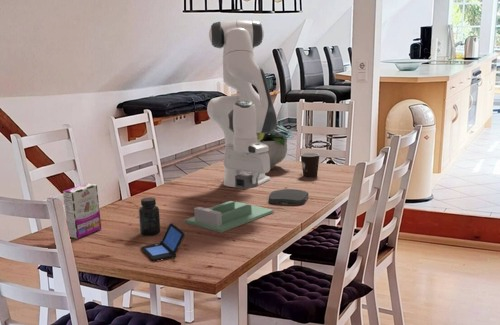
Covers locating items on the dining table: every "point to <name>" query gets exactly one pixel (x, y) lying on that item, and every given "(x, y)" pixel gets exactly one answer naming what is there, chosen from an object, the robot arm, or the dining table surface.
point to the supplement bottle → (149, 217)
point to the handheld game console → (165, 244)
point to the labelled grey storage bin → (245, 181)
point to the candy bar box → (82, 210)
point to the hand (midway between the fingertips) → (246, 182)
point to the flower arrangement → (276, 143)
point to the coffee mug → (310, 164)
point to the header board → (235, 222)
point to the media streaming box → (288, 197)
